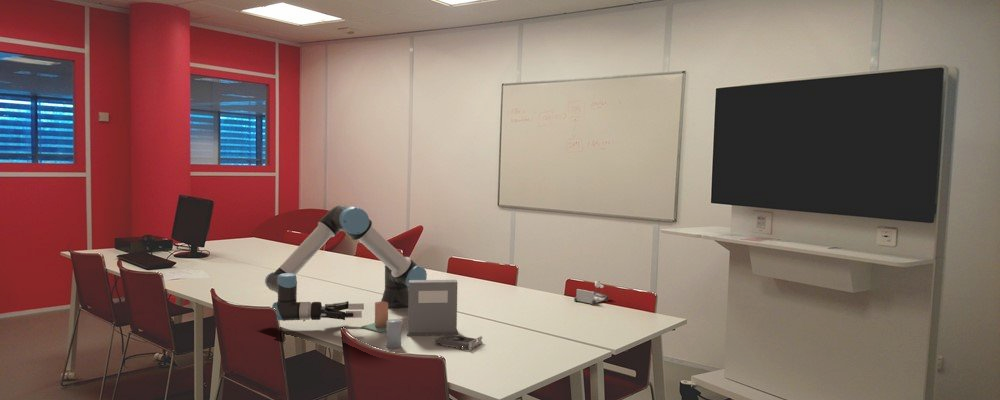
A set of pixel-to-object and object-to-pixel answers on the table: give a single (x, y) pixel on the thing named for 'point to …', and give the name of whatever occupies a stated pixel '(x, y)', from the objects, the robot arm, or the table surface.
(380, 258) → the robot arm
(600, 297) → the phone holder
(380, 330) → the green mat
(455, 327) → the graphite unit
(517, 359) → the table surface
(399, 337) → the slate cartridge
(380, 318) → the cylinder
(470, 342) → the graphics card
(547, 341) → the table surface
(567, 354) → the table surface
